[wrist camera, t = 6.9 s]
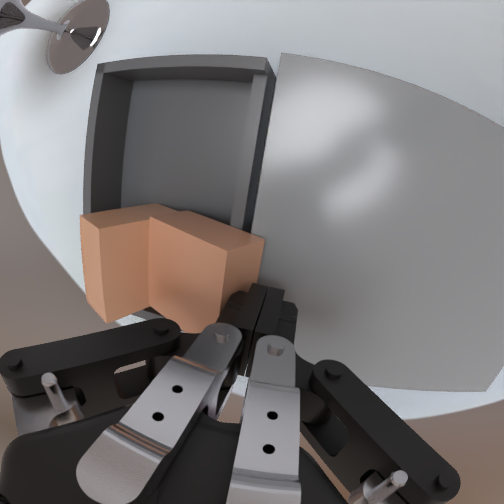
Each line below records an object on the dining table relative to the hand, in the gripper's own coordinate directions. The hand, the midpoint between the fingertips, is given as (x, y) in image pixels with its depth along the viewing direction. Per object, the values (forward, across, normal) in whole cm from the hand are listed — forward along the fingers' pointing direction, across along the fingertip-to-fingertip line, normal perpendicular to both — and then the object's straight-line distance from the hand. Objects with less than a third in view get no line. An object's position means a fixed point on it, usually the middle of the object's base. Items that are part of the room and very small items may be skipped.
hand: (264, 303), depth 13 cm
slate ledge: (+4, -8, -3) cm, 10 cm away
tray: (+4, +6, -4) cm, 8 cm away
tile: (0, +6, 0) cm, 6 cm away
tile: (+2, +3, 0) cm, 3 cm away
